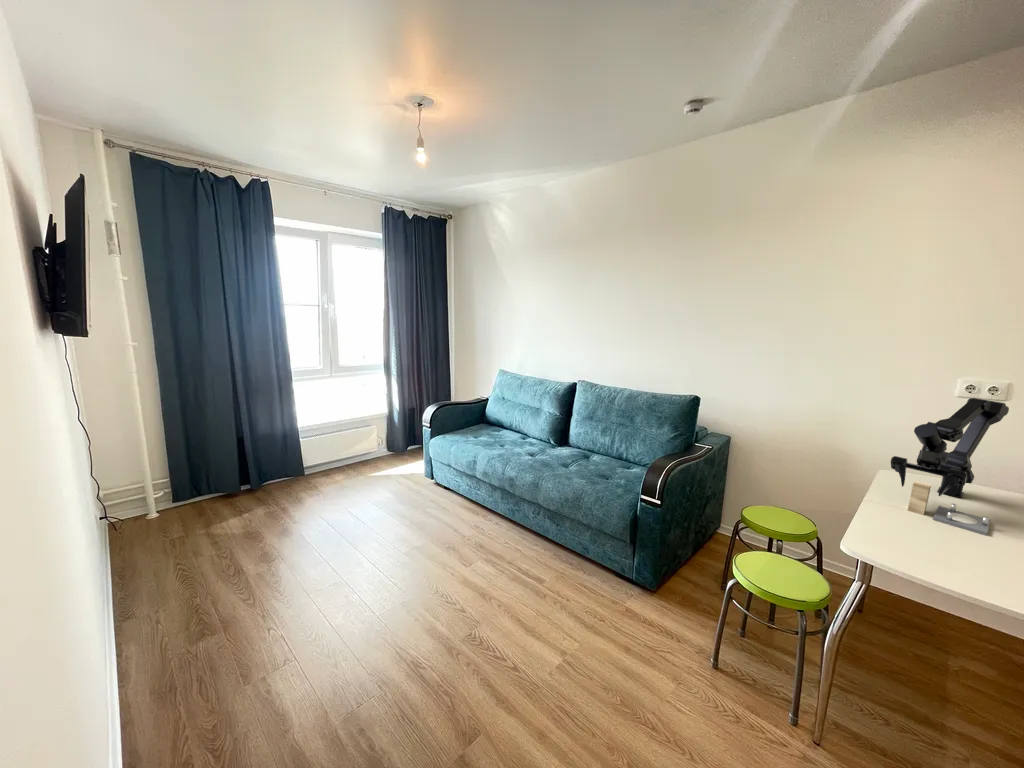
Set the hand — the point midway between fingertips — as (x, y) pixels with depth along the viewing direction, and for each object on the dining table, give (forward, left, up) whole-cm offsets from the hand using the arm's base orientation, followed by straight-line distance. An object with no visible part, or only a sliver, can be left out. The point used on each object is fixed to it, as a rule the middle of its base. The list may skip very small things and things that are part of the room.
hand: (920, 490), depth 142 cm
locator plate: (-2, +11, -8) cm, 13 cm away
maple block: (0, 0, -8) cm, 8 cm away
